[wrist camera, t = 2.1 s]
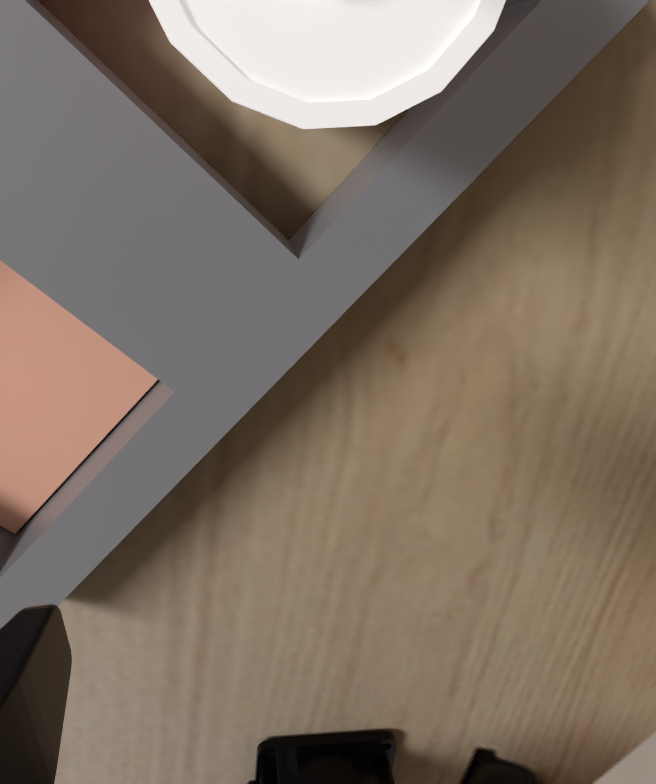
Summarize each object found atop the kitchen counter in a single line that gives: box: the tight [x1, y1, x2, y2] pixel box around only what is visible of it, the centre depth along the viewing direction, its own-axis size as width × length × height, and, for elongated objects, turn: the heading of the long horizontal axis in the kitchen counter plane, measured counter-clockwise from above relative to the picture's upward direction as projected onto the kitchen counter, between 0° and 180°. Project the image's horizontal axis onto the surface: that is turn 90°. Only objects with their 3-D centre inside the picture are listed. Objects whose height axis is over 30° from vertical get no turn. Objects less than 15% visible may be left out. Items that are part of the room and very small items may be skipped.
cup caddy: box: [0, 0, 649, 629], centre depth 17 cm, size 27×13×3 cm, turn 136°
